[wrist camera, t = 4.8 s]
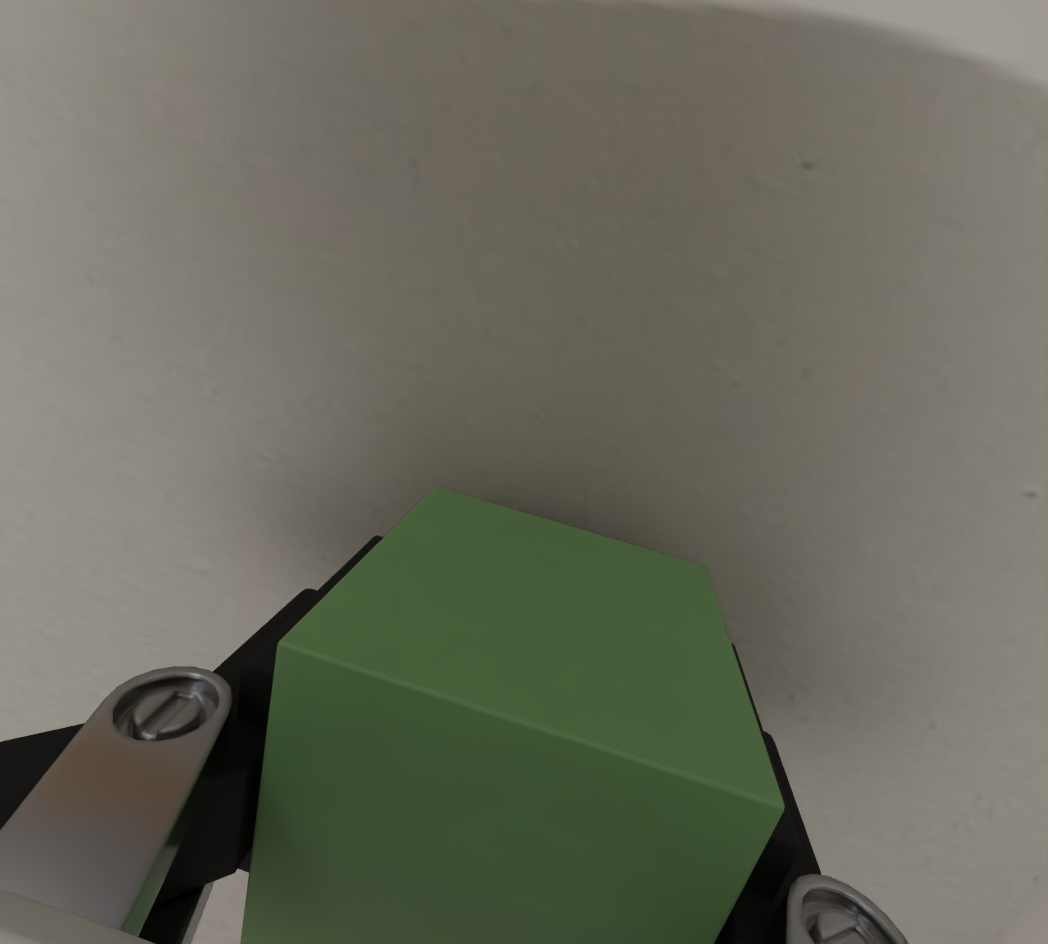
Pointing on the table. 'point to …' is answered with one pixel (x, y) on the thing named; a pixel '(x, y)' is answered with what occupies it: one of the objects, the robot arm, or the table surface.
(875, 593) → the table surface
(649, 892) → the toy block
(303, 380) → the table surface
